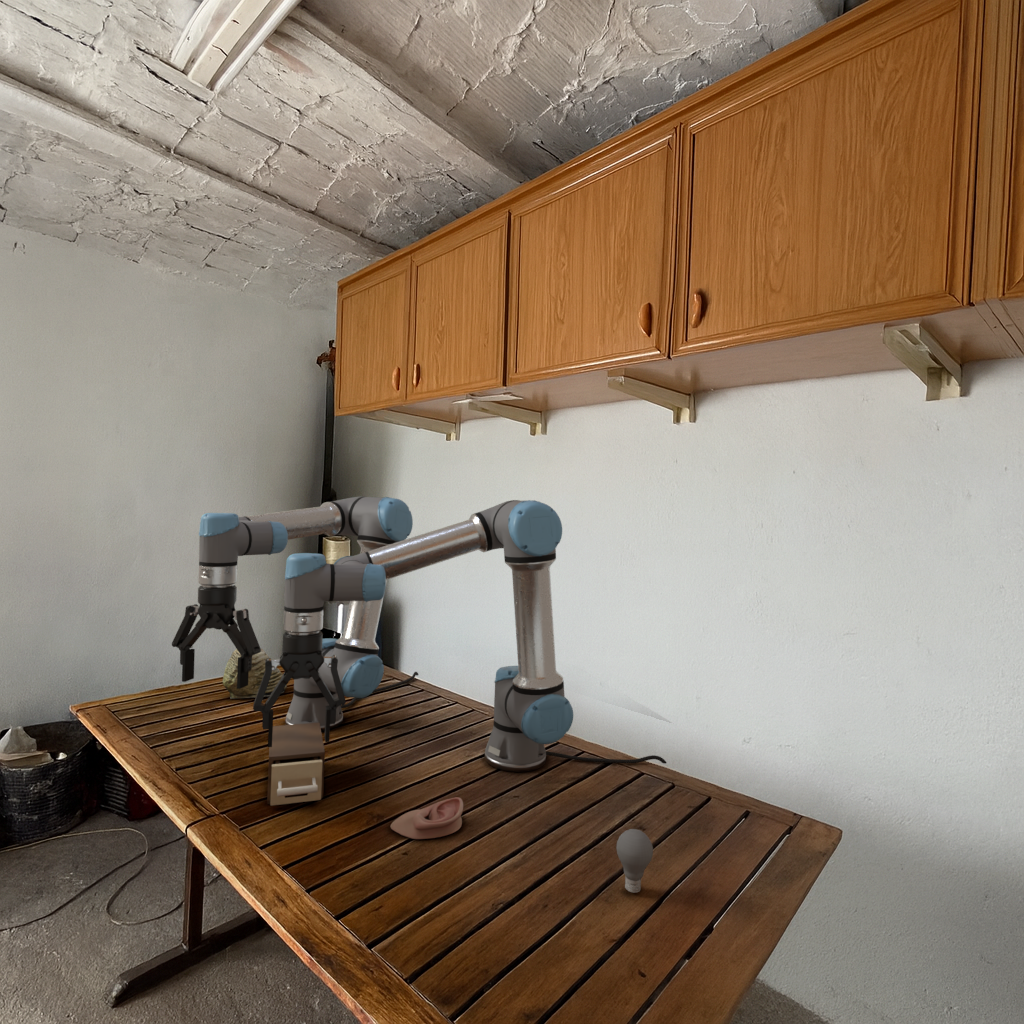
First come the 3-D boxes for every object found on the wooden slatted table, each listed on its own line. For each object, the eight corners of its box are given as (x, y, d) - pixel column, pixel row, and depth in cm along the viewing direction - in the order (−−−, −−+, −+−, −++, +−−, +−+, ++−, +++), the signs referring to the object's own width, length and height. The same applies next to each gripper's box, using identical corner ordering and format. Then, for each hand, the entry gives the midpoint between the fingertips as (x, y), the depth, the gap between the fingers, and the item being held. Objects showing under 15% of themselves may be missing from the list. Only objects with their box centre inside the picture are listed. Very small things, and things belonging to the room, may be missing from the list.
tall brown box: (323, 797, 133) (324, 751, 133) (267, 804, 130) (269, 757, 129) (318, 763, 150) (319, 722, 150) (268, 768, 146) (270, 726, 146)
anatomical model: (384, 813, 120) (406, 787, 131) (383, 834, 120) (405, 806, 131) (452, 824, 117) (468, 796, 128) (451, 845, 117) (467, 815, 128)
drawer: (322, 811, 126) (324, 772, 126) (269, 818, 122) (271, 777, 122) (316, 766, 146) (317, 732, 146) (271, 770, 143) (272, 736, 143)
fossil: (218, 695, 195) (220, 647, 195) (278, 685, 208) (279, 640, 207) (228, 703, 189) (230, 653, 188) (289, 692, 201) (290, 645, 201)
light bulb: (610, 879, 108) (613, 822, 108) (644, 879, 109) (647, 822, 109) (619, 902, 102) (622, 840, 102) (655, 901, 103) (658, 840, 103)
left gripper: (154, 583, 135) (152, 681, 135) (258, 591, 129) (255, 694, 130) (181, 578, 142) (178, 672, 143) (279, 586, 136) (276, 684, 137)
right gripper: (240, 637, 119) (235, 754, 119) (363, 633, 126) (359, 743, 127) (242, 629, 126) (238, 740, 126) (359, 625, 133) (354, 730, 134)
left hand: (214, 683), depth 136 cm, fingers open, 13 cm apart
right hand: (298, 742), depth 126 cm, fingers open, 10 cm apart
